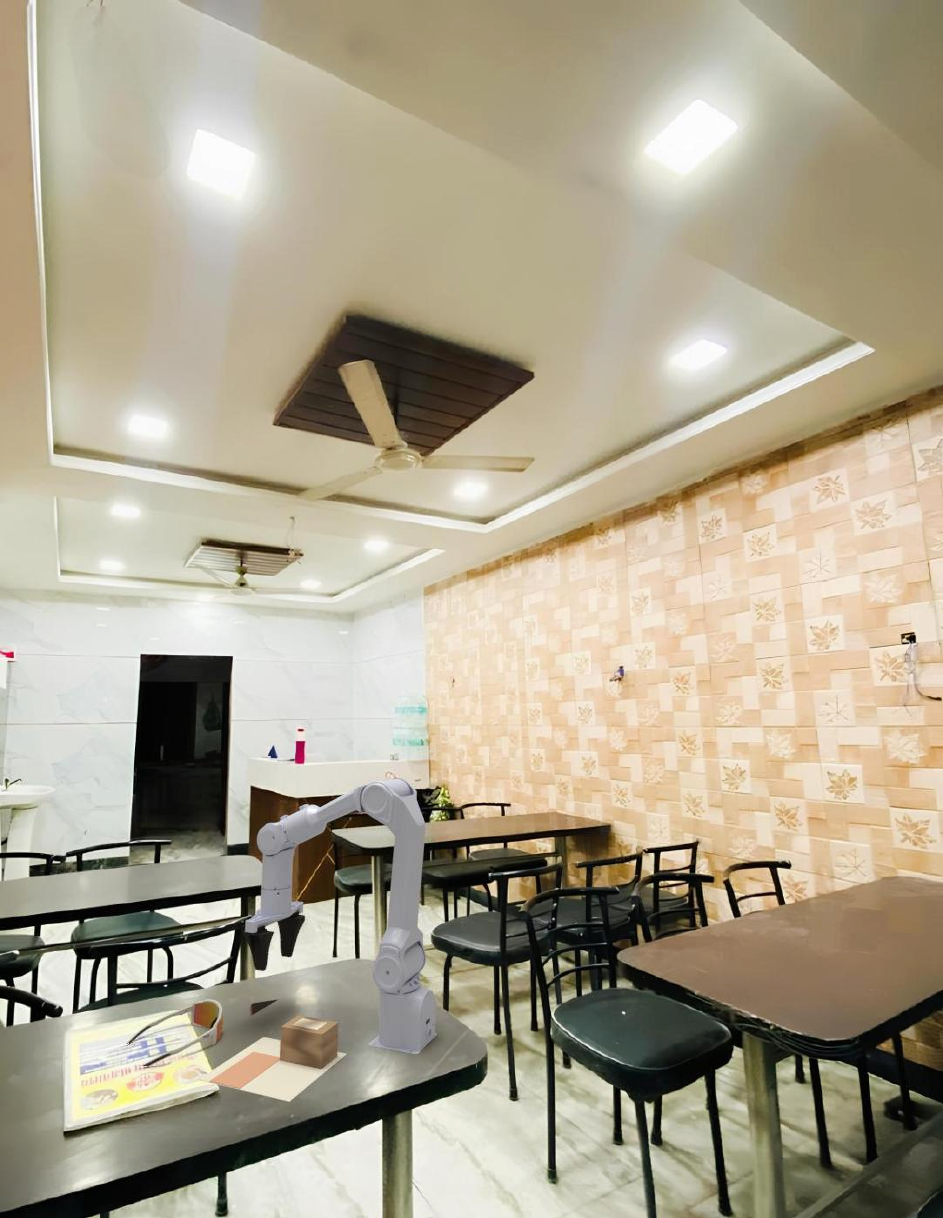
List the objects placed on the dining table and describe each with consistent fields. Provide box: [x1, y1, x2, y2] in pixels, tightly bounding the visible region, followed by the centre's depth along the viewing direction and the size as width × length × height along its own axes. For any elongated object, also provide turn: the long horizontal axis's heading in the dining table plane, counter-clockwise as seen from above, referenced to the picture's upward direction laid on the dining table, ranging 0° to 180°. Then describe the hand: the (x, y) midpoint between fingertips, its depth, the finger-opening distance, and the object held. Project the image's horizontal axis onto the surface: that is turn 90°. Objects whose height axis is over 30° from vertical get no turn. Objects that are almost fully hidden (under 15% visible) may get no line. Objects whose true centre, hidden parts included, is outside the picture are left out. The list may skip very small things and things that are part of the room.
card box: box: [280, 1015, 339, 1069], centre depth 106 cm, size 8×4×5 cm, turn 68°
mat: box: [197, 1036, 347, 1103], centre depth 103 cm, size 17×15×1 cm
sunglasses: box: [125, 998, 224, 1067], centre depth 113 cm, size 14×15×5 cm
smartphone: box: [250, 998, 279, 1016], centre depth 122 cm, size 7×1×15 cm
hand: (273, 962), depth 123 cm, fingers open, 7 cm apart
